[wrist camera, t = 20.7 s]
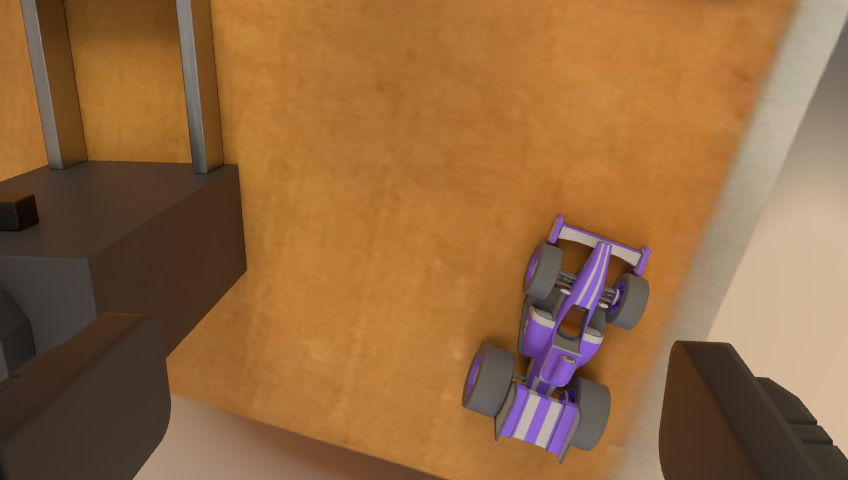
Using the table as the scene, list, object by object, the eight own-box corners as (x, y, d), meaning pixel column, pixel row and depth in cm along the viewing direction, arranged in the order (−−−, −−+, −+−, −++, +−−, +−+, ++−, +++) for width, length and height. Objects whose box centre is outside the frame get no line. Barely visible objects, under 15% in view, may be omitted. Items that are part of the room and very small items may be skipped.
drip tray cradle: (45, -20, 45) (-176, -33, 30) (207, -19, 44) (63, -33, 29) (74, 159, 49) (-108, 227, 34) (224, 164, 48) (104, 235, 33)
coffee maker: (61, 159, 49) (-231, 264, 29) (238, 164, 48) (60, 276, 28) (78, 264, 51) (-179, 425, 32) (246, 270, 50) (90, 442, 30)
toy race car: (667, 253, 47) (694, 290, 41) (579, 425, 52) (591, 481, 46) (538, 205, 47) (545, 235, 41) (461, 383, 52) (458, 434, 46)
